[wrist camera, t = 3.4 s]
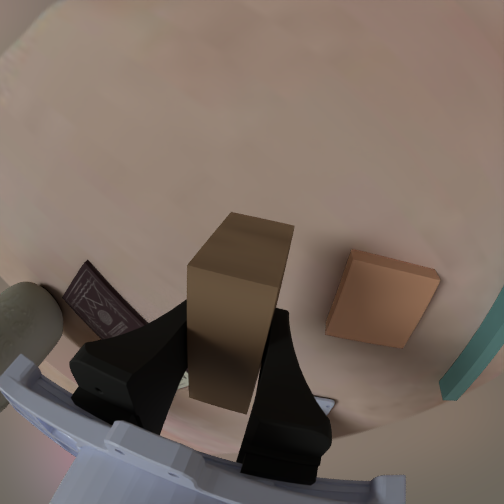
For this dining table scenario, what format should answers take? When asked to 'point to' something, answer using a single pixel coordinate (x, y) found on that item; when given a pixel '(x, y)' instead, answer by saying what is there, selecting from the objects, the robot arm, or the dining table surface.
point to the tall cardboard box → (233, 307)
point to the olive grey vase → (27, 325)
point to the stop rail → (476, 353)
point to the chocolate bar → (103, 307)
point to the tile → (380, 299)
